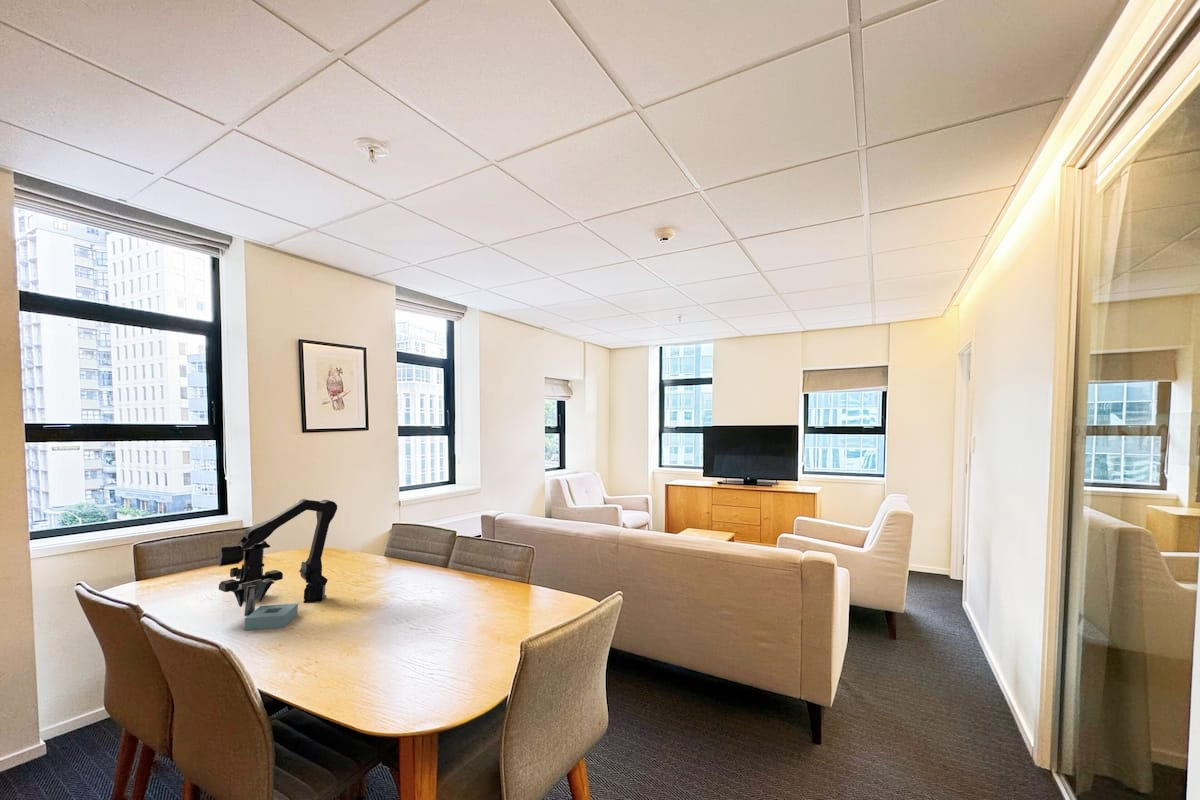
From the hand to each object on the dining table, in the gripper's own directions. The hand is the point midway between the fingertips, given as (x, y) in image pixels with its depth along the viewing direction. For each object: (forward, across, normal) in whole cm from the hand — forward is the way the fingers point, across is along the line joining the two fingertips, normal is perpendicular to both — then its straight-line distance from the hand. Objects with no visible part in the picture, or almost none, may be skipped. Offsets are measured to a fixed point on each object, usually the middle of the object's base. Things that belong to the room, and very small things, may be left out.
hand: (250, 604), depth 174 cm
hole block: (+4, -1, +15) cm, 15 cm away
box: (+4, -8, -20) cm, 22 cm away
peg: (+4, 0, 0) cm, 4 cm away
